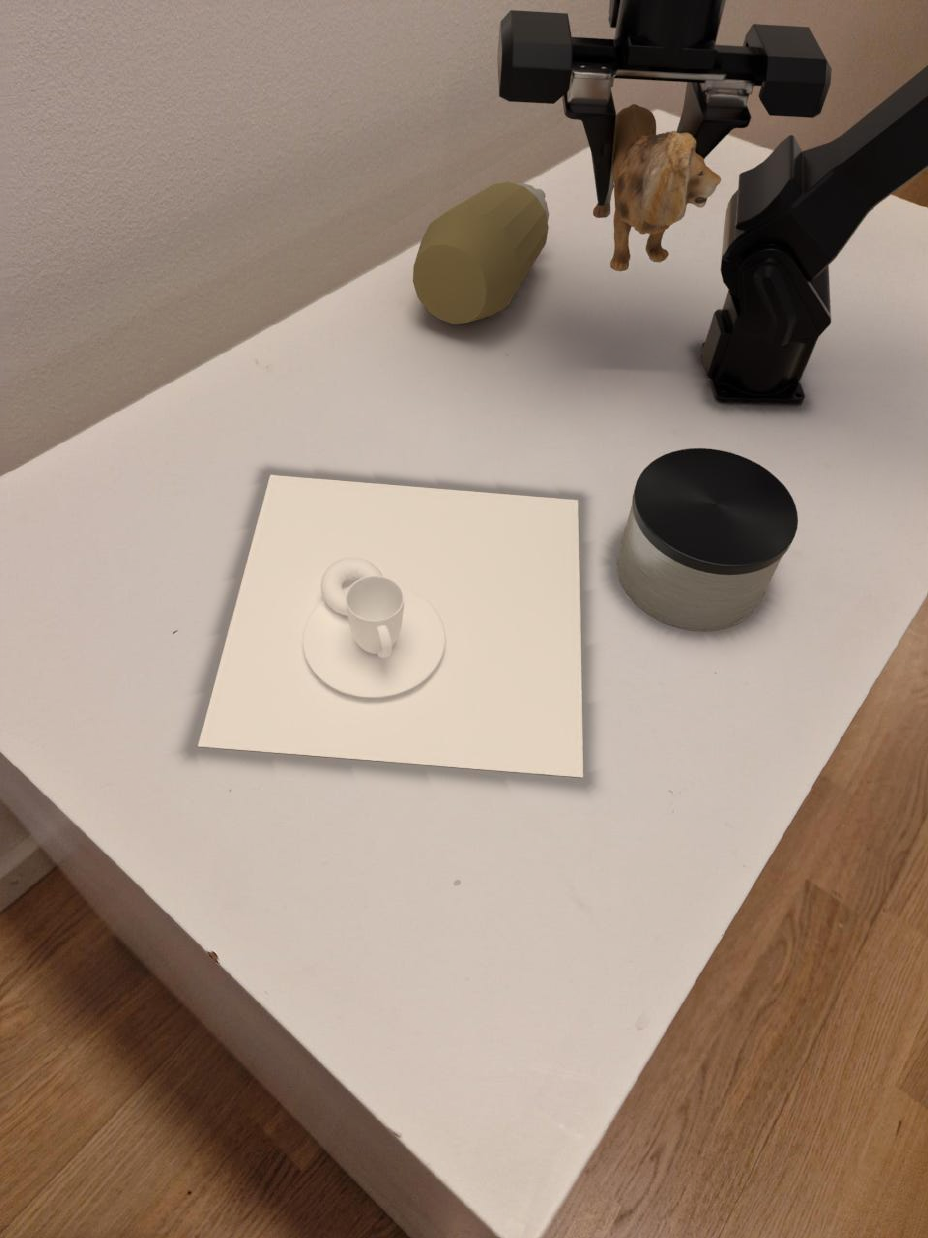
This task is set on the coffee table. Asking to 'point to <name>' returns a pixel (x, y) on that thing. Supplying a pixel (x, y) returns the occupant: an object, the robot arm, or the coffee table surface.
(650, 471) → the steel canister
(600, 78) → the robot arm
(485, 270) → the squeeze bottle
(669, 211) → the lion figurine
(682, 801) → the coffee table surface
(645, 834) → the coffee table surface
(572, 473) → the coffee table surface
